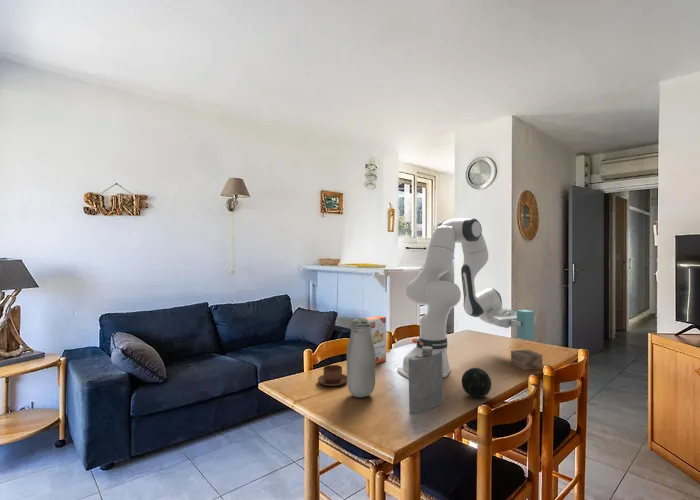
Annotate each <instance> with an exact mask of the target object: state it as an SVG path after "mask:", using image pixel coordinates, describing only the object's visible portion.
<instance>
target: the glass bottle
mask: <svg viewBox="0 0 700 500" xmlns="http://www.w3.org/2000/svg"><path fill="white" fill-rule="evenodd" d="M366 318H367V317H358V318H355V319H353V320H352V322H351V323H350V334H349V340H348V343H347V349H346V376H347V382H346V383H347V388H348V391H349V393H350V394H351V395H352V396H353V397H356V398H365V397H366V398H367V397H368V396H370V395H371V394H373V392H374V389H375V386H376V364H375V360H376V356H375V348H374V344H373V340H372V335H371V323H370V321H369V320H368V319H366Z"/></svg>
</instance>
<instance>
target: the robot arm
mask: <svg viewBox="0 0 700 500" xmlns="http://www.w3.org/2000/svg"><path fill="white" fill-rule="evenodd" d="M482 227H483V226H482V225H481V222H480V221H479V220H478V219H477V218H472V217H467V218H463V217H462V218H457V217H456V218H452V219H447V220H442V221H440V222H438V224H436V227H435V229H434V231H433V233H432V235H431V238H430V241H429V245H428V248H427V249H428V250H427V253H426V258H425V261H424V264H423V267H422V269H421V270H420V272H419V273H418V274H417V275H416V277H415V278H413V279H412V280H410V281H409V282H408V284H407V286H406V287H405V288H406V289H405V293H406V297H407V299H408V300H409V301H410V302H413V303H415V304H418V305H425V306H429V308H428V312H427V313H426V314H424V315H423V316H421V318H420V320H419V338H418V339H417V338H415V337H413V338H411V342H412V343H413V344H416V346H414V347H413V349H412V350H411V351H409V352H408V353H407V354H405V356H404V358H403V362H402V366H398V367H397V372H398V373H399V374H400V375H401V376H403V377H405V378H408V379H409V357H414V356H416V355H419V354H422V347H425V346H428V347H432V348H433V350H441V351H442V378H446V377H447V378H448V376H449V374H450V373H451V367H450V363H449V358H448V337H447V320H448V317H449V314H450V313H451V310H452V309H454V307H455V306H457V305H458V303H459V302H460V300H461V297H462V294H463V308H464V311H465V313H466V314H467V315H469V316H470V317H474V318H479V319H480V320H481V321H483V322H484V323H487V324H490V325H493V326H496V327H502V328H505V329H508V328H509V329H510V328H511V327H515V326H516V327H517V325H518V326H522V325H523V322H521V321H517V310H518V309H509V308H504V307H503V299H502V296H501V294H500V292H499V291H498V290H497V289H495V288H492V287H487V288H485V289H482V290H480V291H479V292H477V293H476V288H475V278H476V276H477V275H478V273H479V272H480V271H481V270H482V269H483V268H484V267H485V266H486V264H487V263H488V262H489V261H488V260H489V251H488V250H489V249H488V247H487V243H486V241H485V240H486V239H485V238H484V236H483V233H482V230H483V228H482ZM456 243H458V244H459V243H460V244H461V245H460V246H461V250H462V254H463V264H462V266H461V269H460V271H461V272H460V273H461V274H460V276H461V283H462V285H461V286H462V292H463V293H461V289H460V287H459V286H458V284H457V283H454V282H452V281H447V280H440V279H441V277H442V276H443V275H445V274H447V273H448V272H449V271H450V270H451V268H452V263H453V258H454V254H455V248H456ZM536 321H537V317H536V316H535V315H534V325H535V324H536Z"/></svg>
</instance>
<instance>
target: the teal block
mask: <svg viewBox="0 0 700 500" xmlns="http://www.w3.org/2000/svg"><path fill="white" fill-rule="evenodd" d="M516 310H517V321H521V322H523V325H522V326H518V325H516V337H517V338H518V339H522V340H526V341H527V340H533V339H535V337H536V335H535V333H536V331H535V330H536V329H535V324H534V316H535V310H529V309H516Z"/></svg>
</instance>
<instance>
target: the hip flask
mask: <svg viewBox="0 0 700 500" xmlns="http://www.w3.org/2000/svg"><path fill="white" fill-rule="evenodd" d="M408 390H409V391H408V398H409V399H408V401H409V402H408V404H409V405H408V409H409V410H408V411H409V414H412V415H419V414H421V413H424V412H427V411H430V410H432V409H434V408H436V407H437V406H439V405H440V404H442V403H443V400H444V399H443V377H442V351H441V350H433V348H432V347H428V346H425V347H422V354H419V355H416V356H414V357H409V378H408Z"/></svg>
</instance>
